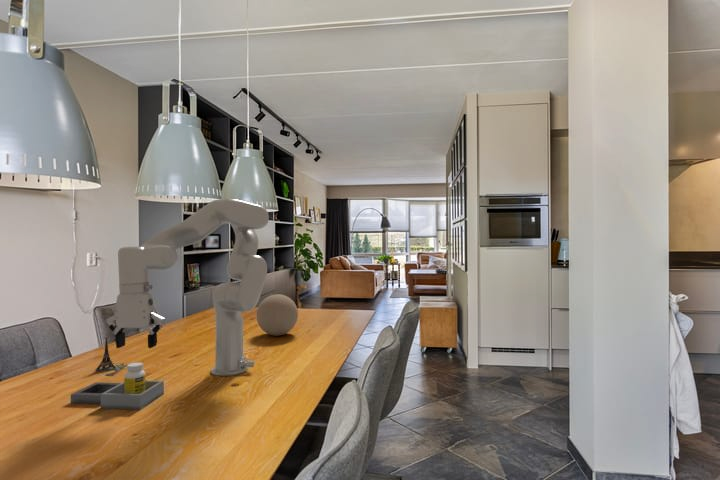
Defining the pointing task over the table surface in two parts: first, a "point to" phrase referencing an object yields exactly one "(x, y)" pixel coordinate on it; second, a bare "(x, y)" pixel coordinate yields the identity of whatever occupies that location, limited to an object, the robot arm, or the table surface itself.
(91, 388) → the socket collar
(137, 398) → the tray
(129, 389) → the supplement bottle
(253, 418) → the table surface
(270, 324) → the decorative sphere
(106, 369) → the eiffel tower figurine
